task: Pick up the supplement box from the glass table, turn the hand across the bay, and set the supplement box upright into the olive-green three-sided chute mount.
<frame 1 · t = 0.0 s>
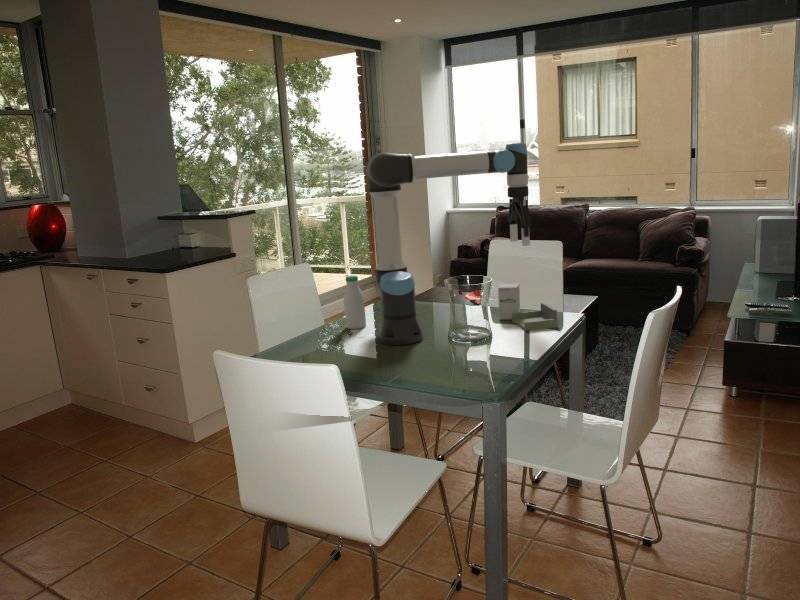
hand: (519, 243, 243), 28 cm above the table, fingers open, 13 cm apart
supplement box: (509, 318, 248), on the table
milk bottle: (356, 327, 252), on the table
chute mount: (534, 324, 236), on the table
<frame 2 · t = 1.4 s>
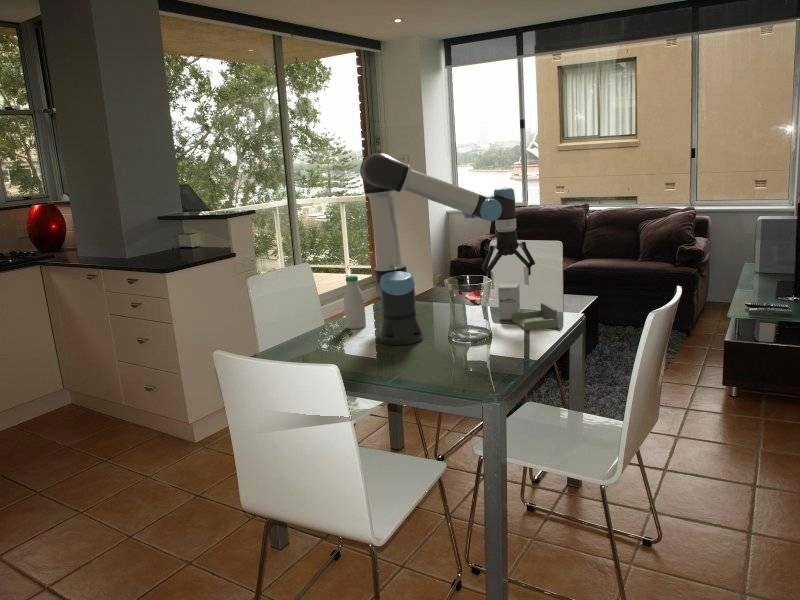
hand: (509, 286, 245), 12 cm above the table, fingers open, 13 cm apart
nothing on the table moved.
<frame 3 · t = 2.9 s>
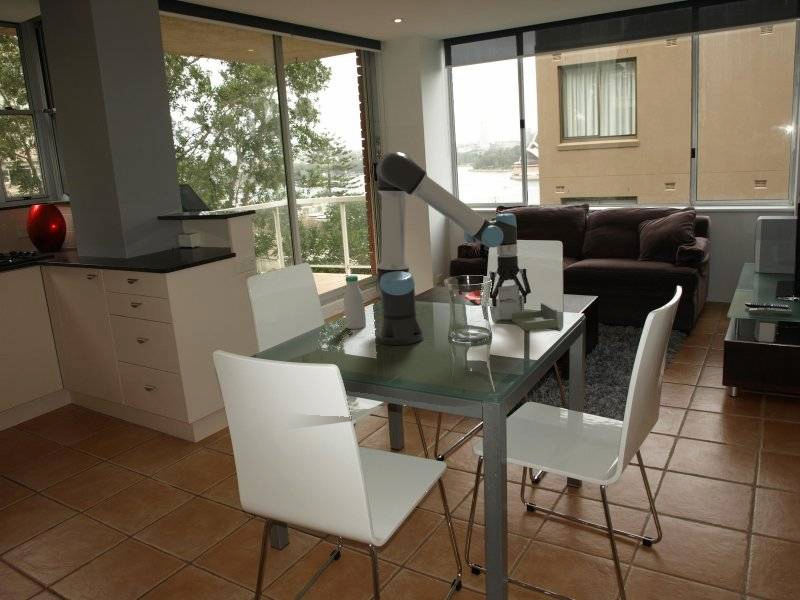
hand: (509, 313, 248), 2 cm above the table, fingers closed on supplement box, 9 cm apart
supplement box: (509, 318, 248), on the table, touching gripper
everything else where it was.
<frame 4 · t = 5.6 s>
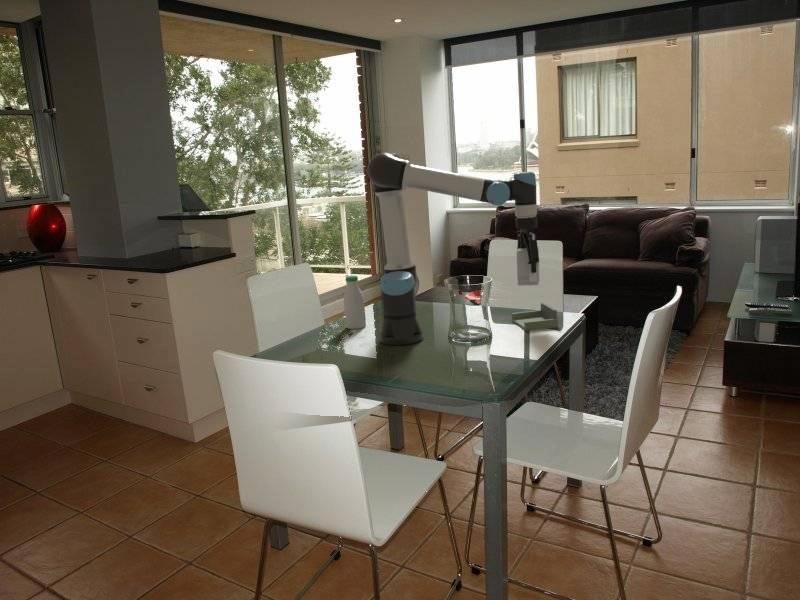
hand: (528, 279, 234), 17 cm above the table, fingers closed on supplement box, 9 cm apart
supplement box: (528, 284, 234), point 15 cm above the table, touching gripper
everything else where it was.
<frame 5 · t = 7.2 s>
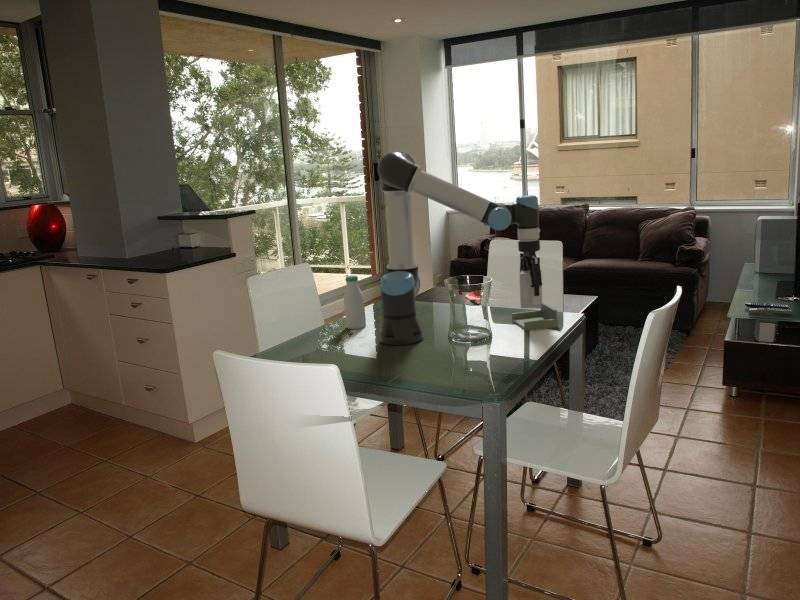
hand: (531, 301, 234), 8 cm above the table, fingers closed on supplement box, 9 cm apart
supplement box: (531, 306, 235), point 7 cm above the table, touching gripper
everything else where it was.
when the fingers open (4 cm above the table, at t = 8.5 s): supplement box drops 2 cm, resting on chute mount.
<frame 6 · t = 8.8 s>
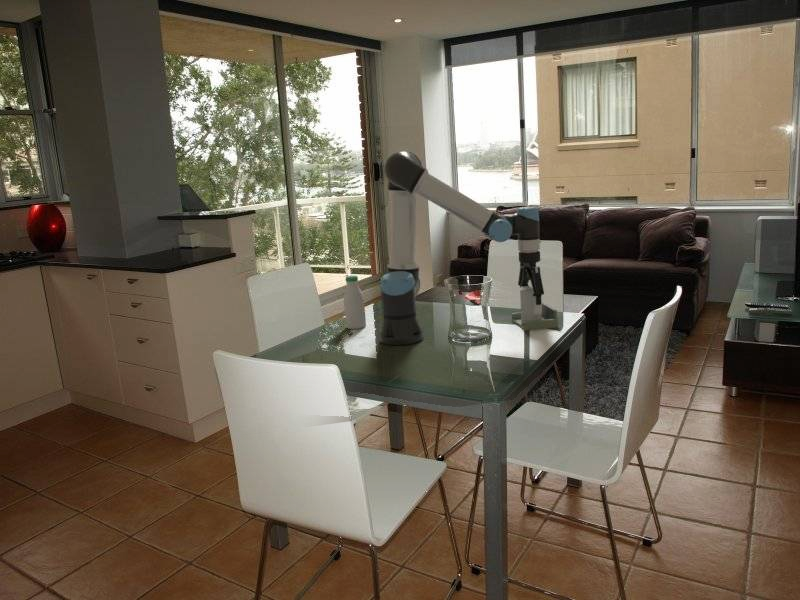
hand: (531, 309, 235), 6 cm above the table, fingers open, 13 cm apart
supplement box: (531, 322, 236), point 1 cm above the table, touching chute mount
everything else where it was.
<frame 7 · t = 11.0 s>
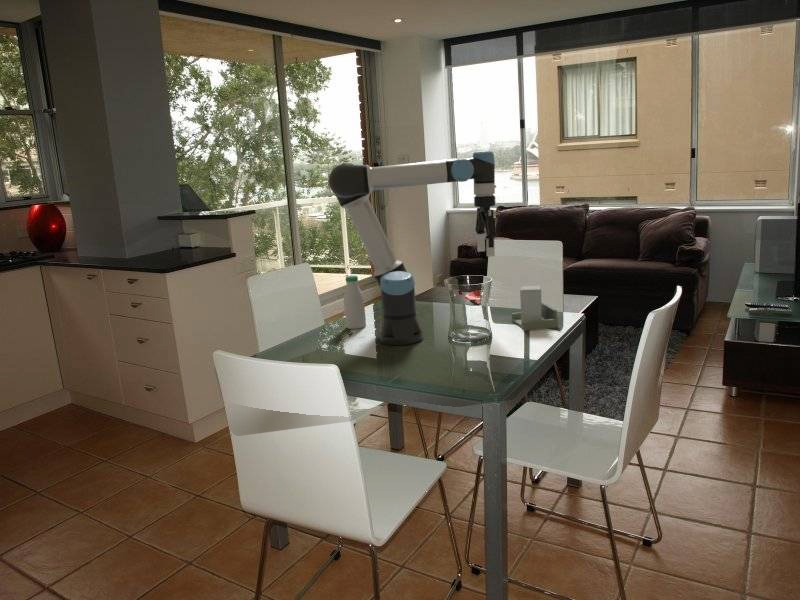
hand: (485, 253, 238), 26 cm above the table, fingers open, 13 cm apart
nothing on the table moved.
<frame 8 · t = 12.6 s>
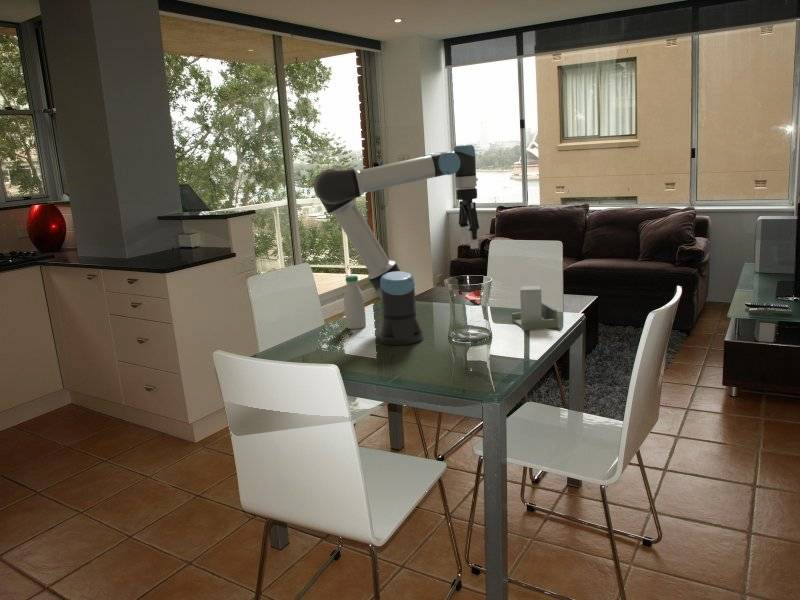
hand: (469, 246, 241), 29 cm above the table, fingers open, 13 cm apart
nothing on the table moved.
at the end: supplement box inside the target area on the chute mount (0.2 cm from its centre), point 0.8 cm above the chute mount's base; supplement box tilted 0°; the gripper is holding nothing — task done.
